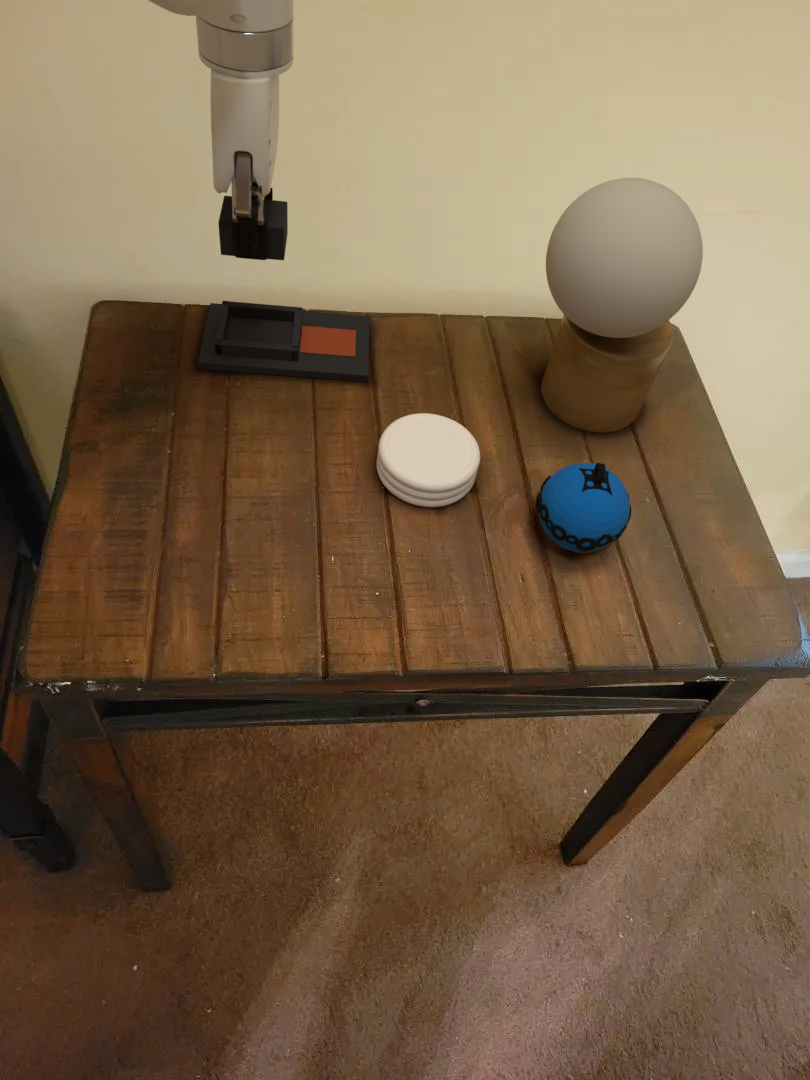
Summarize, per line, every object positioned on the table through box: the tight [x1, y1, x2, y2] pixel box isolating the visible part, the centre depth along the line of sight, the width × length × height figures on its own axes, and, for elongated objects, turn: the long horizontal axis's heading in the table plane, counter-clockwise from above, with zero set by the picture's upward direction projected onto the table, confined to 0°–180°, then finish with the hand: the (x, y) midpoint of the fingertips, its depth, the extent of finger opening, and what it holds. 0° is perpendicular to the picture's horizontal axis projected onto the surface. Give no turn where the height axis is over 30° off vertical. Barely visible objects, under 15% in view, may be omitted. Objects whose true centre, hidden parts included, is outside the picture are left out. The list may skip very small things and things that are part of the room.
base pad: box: [197, 300, 370, 383], centre depth 90 cm, size 18×10×2 cm, turn 91°
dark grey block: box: [217, 195, 289, 261], centre depth 78 cm, size 6×4×4 cm
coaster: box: [375, 412, 481, 508], centre depth 81 cm, size 10×10×4 cm
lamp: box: [540, 177, 704, 434], centre depth 81 cm, size 15×14×25 cm
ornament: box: [534, 462, 632, 554], centre depth 75 cm, size 9×9×10 cm
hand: (253, 239), depth 79 cm, fingers closed on dark grey block, 4 cm apart
